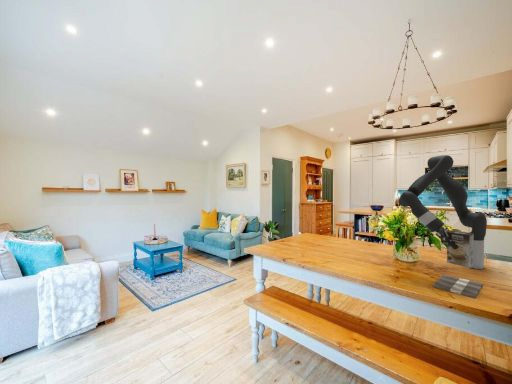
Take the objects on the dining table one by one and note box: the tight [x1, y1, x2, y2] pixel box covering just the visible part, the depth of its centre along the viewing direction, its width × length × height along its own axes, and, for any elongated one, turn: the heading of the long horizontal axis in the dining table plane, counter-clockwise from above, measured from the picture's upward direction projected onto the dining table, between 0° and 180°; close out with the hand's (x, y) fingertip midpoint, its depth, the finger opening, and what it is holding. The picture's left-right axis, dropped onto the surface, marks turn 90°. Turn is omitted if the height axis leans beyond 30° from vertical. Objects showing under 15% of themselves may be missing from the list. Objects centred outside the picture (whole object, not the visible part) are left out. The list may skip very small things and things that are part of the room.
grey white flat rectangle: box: [432, 274, 484, 299], centre depth 119 cm, size 20×16×1 cm
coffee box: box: [446, 230, 474, 268], centre depth 118 cm, size 9×6×16 cm
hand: (458, 247), depth 118 cm, fingers closed on coffee box, 7 cm apart
